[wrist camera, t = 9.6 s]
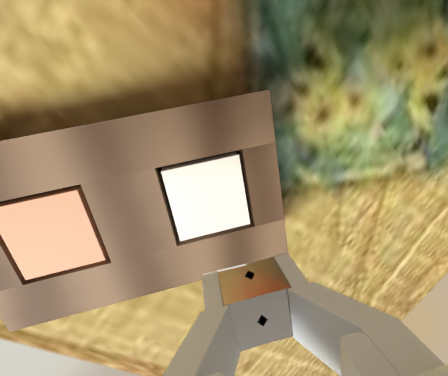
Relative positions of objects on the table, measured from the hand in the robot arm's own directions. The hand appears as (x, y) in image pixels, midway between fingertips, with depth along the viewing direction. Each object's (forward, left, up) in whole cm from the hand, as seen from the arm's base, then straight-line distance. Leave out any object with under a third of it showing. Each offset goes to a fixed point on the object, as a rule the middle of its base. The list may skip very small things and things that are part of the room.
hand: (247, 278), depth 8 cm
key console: (+5, 0, -12) cm, 13 cm away
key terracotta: (+10, 0, -11) cm, 15 cm away
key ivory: (0, 0, -11) cm, 11 cm away
